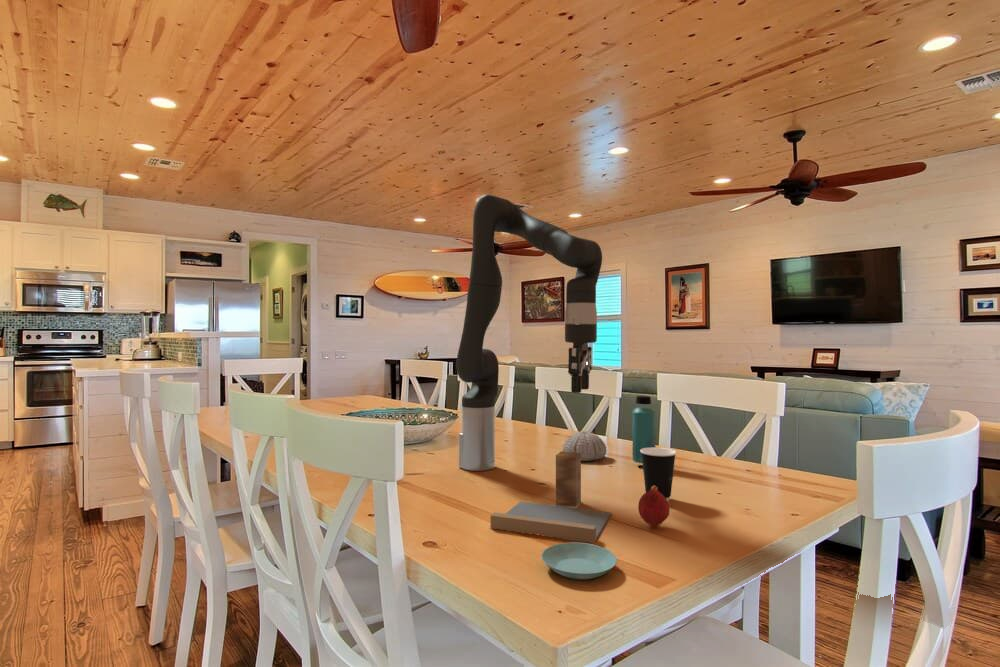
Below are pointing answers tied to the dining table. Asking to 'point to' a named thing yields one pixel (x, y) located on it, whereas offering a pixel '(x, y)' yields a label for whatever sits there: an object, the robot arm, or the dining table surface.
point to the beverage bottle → (643, 428)
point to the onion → (653, 507)
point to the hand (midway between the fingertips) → (580, 390)
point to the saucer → (579, 560)
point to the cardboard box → (568, 479)
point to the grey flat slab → (552, 521)
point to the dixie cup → (658, 469)
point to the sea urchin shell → (585, 446)
